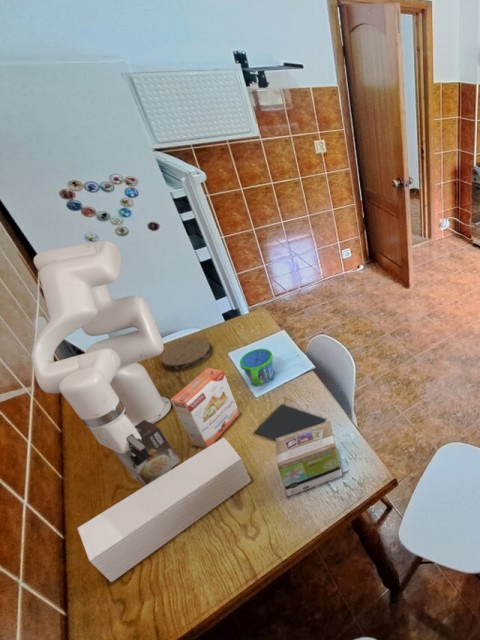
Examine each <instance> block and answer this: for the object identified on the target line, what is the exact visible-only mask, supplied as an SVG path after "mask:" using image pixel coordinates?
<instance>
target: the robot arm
mask: <svg viewBox="0 0 480 640" xmlns="http://www.w3.org/2000/svg"><path fill="white" fill-rule="evenodd" d="M33 264H34V266H35V268H36V269H37V271H38V272H39V274H38V275H39V276H38V277H39V280H40V281H39V282H40V284H41V289H42V293H43V296H44V300H45V304H46V307H47V312H48V316H49V321H48V323H47V324H46V325H45V326H44V328H43V329H42V330H41V332H40V333H39V335H38V336H37V337H36V340H35V341H34V343H33V346H32V349H31V355H30V356H31V358H30V359H31V363H32V368H33V371H34V376H35V379H36V382H37V384H38V386H39V388H40V389H41V390H42V391H43V392H44V393H48V394H61V395H62V396H63V397H64V399H65V400H66V402H67V403H68V404H69V405H70V407H71V408H72V410H73V411H74V412H75V413H76V415H77V417H79V419H80V420H81V421H82V423H83V425H85V427H86V428H88V429H89V430H90V432H91V433H92V435H93V436H94V438H95V439H96V441H97V442H98V443H99V444H100V445H101V446H103V447H105V448H107V449H109V450H112V451H113V452H114V451H116V452H118V453H121V454H123V453H126V452H128V453H129V454H130V455H131V456H130V458H131V459H132V460H133V462H134V463H135V465H137V466H139V465H140V464H141V463H143V462H144V461H145V460H146V459H147V458H149V456H150V455H149V454H148V452H147V451H146V449H145V446H144V445H143V444H142V443H140V442H139V441H141V436H140V434H139V433H138V431H137V430H136V428H135V426H136V425H138V424H139V423H140V422H142V421H143V420H146V421H147V422H151V423H152V424H156V423H158V422H159V421H160V420H162V419H163V418H164V417H165V416H166V415H167V414H168V413H169V412H170V410H171V407H172V403H171V401H170V400H171V399H169V398H168V397H165V396H161V395H160V393H159V391H158V388H157V387H156V386H155V384H154V382H153V380H152V378H151V376H150V374H149V373H148V371H147V369H146V368H145V366H143V365H142V364H140V363H139V362H143V361H146V360H148V359H153V358H155V357H158V356H159V355H162V354H163V353H164V351H165V345H164V341H163V338H162V336H161V333H160V330H159V328H158V325H157V323H156V321H155V318H154V316H153V313H152V310H151V307H150V305H149V304H148V303H147V301H146V300H145V299H144V298H143V297H141V296H139V295H129V296H123V297H118V298H115V299H113V298H112V296H111V294H110V291H109V288H108V286H107V285H109V284H113V283H115V282H117V281H118V280H119V278H120V274H121V267H122V254H121V252H120V249H119V247H118V246H117V245H115V243H113V242H111V241H108V240H100V241H99V240H98V241H92V242H86V243H80V244H74V245H68V246H63V247H57V248H52V249H49V250H45V251H42V252H39V253H37V254H35V256H34V257H33ZM131 328H134V329H137V330H134V331H130V332H127V333H122V334H118V335H115V336H112V337H108V338H104V339H101V340H98V341H96V342H94V343H92V344H90V345H89V346H88V347H87V348H86V350H85V353H81V354H78V355H74V356H70V357H67V358H63V359H60V360H57V361H55V358H54V355H55V352H56V350H57V348H58V347H59V345H61V343H62V342H63V341H64V340H65V339H66V338H68V337H69V336H70V335H72V334H74V333H75V332H77V331H78V330H80V329H81V330H82V331H83V332H84V333H85V335H87V336H89V337H98V336H104V335H108V334H111V333H116V332H120V331H123V330H127V329H131ZM129 443H130V445H129ZM133 446H134V447H135V448H136V450H135V451H134V452H133V451H132V450H131V449H130V448H132V447H133ZM115 456H116V457H117V455H116V454H115Z"/></svg>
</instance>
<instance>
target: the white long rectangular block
mask: <svg viewBox="0 0 480 640" xmlns="http://www.w3.org/2000/svg"><path fill="white" fill-rule="evenodd" d="M250 477H251V476H250V475H249V473H248V471H247V468H246V467H245V464H244V461H243V459H242V458H241V456H240V455H239V454H238V453H237V451H236V450H235V449H234V448H233V447H232V445H231V444H230V442H229V441H228V440H227V439H226V438H225V437H222V438H220V439H219V440H216V441H215V442H214V443H213V444H212V445H211V446H209V447H207V448H203V450H201V451H199V452H198V453H196V454H194V455H193V456H191V457H190V458H188V459H186V460H185V461H184V462H183V461H182V463H180V464H177V466H174V467H172V468H171V469H170V470H169V471H168V472H166V473H165V474H164V475H162V476H161V477H159V478H157V479H156V480H154V481H152V482H151V483H149V484H148V485H146V486H145V485H143V487H141V488H139V489H138V490H136V491H135V492H133V493H132V494H130V495H128V496H126V497H125V498H123V499H122V500H120V501H118V502H117V503H115V504H113V505H112V506H110V507H108V508H107V509H105V510H104V511H102V512H101V513H99V514H97V515H96V516H94V517H93V518H91V519H89V520H88V521H86V522H84V523H83V524H81V525H80V526H78V527H77V532H78V534H79V537H80V540H81V542H82V544H83V548H84V550H85V553H86V555H87V559H88V561H89V562H90V563H91V564H92V565H93V566H94V567H95V568H96V569H97V570H98V571H99V572H100V573H101V574H102V575H103V576H104V577H105V578H106V579H107V580H108V581H109V582H110V583H113V582H114V581H116V580H117V579H118V578H120V577H121V576H122V575H124V574H125V573H127V572H128V571H129V570H131V569H132V568H134V567H135V566H136V565H138V564H139V563H140V562H142V561H144V560H145V559H146V558H147V557H149V556H150V555H152V554H153V553H154V552H156V551H157V550H159V549H160V548H161V547H162V546H164V545H165V544H166V543H169V541H171V540H172V539H174V538H175V537H176V536H178V535H179V534H181V533H183V532H184V531H185V530H186V529H188V528H189V527H190V526H191V525H193V524H194V523H196V522H197V521H198V520H200V519H201V518H202V517H204V516H205V515H207V514H208V513H210V512H211V511H212V510H214V509H216V507H218V506H219V505H221V504H222V503H223V502H225V500H227V499H229V498H230V497H231V496H233V495H234V494H236V493H237V492H239V491H240V490H241V489H242V488H244V487H245V486H247V485H248V484H249V483H251V482H252V479H251V478H250Z"/></svg>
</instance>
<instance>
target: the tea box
mask: <svg viewBox="0 0 480 640" xmlns="http://www.w3.org/2000/svg"><path fill="white" fill-rule="evenodd" d="M333 431H334V430H333V427H332V423H331V420H327V421H324V422H323V423H321V424H318V425H315V426H312V427H309V428H306V429H303V430H300V431H297V432H294V433H291V434H288V435H285V436H282V437H278V438H276V439H275V440H274V441H275V449H276V460H277V461H276V462H277V469H278V472H279V476H280V478H281V481H282V484H283V487H284V490H285V492H286V495H287V496H288V497H290V496H293V495H296V494H298V493H301V492H303V491H306V490H309V489H311V488H313V487H316V486H319V485H322V484H324V483H327V482H330V481H332V480H334V479H337V478H340V477H342V475H343V474H342V468H341V462H340V458H339V453H338V449H337V444H336V439H335V435H334V432H333Z"/></svg>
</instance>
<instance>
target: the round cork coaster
mask: <svg viewBox="0 0 480 640" xmlns="http://www.w3.org/2000/svg"><path fill="white" fill-rule="evenodd" d="M211 354H212V347H211V344H210V342H209V341H208V340H207V339H206V338H202V337H192V338H187V339H184V340H180V341H177V342H175V343H174V344H171V345H170V346H169V347H168V348H166V349H164V350H163V352H162V353H161V356H160V359H161V362H162V364H163V366H164V368H165V369H167V370H169V371H175V372H176V371H178V372H179V371H180V372H181V371H185V370H190V369H191V368H195V367H197V366H199V365H200V364H203V362H205V361H206V360H207V359H209V357H210V356H211Z"/></svg>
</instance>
